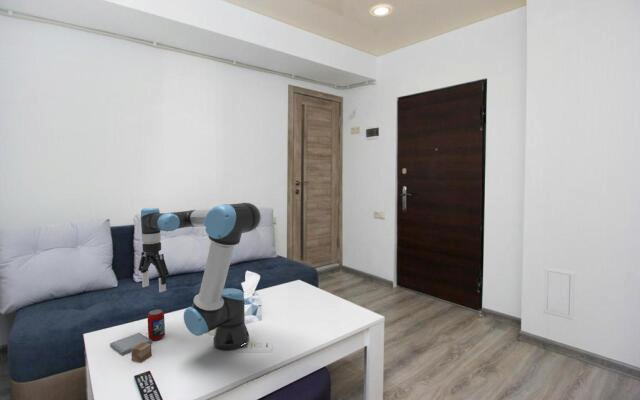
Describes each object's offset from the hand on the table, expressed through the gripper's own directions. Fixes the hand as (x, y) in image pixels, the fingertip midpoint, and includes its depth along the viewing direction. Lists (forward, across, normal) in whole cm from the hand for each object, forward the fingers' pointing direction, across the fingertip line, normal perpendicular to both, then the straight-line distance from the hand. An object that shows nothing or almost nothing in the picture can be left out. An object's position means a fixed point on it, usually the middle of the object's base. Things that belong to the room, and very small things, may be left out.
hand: (154, 288), depth 150 cm
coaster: (+22, +1, +11) cm, 24 cm away
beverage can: (+22, -2, +1) cm, 22 cm away
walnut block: (+22, -13, +14) cm, 29 cm away
